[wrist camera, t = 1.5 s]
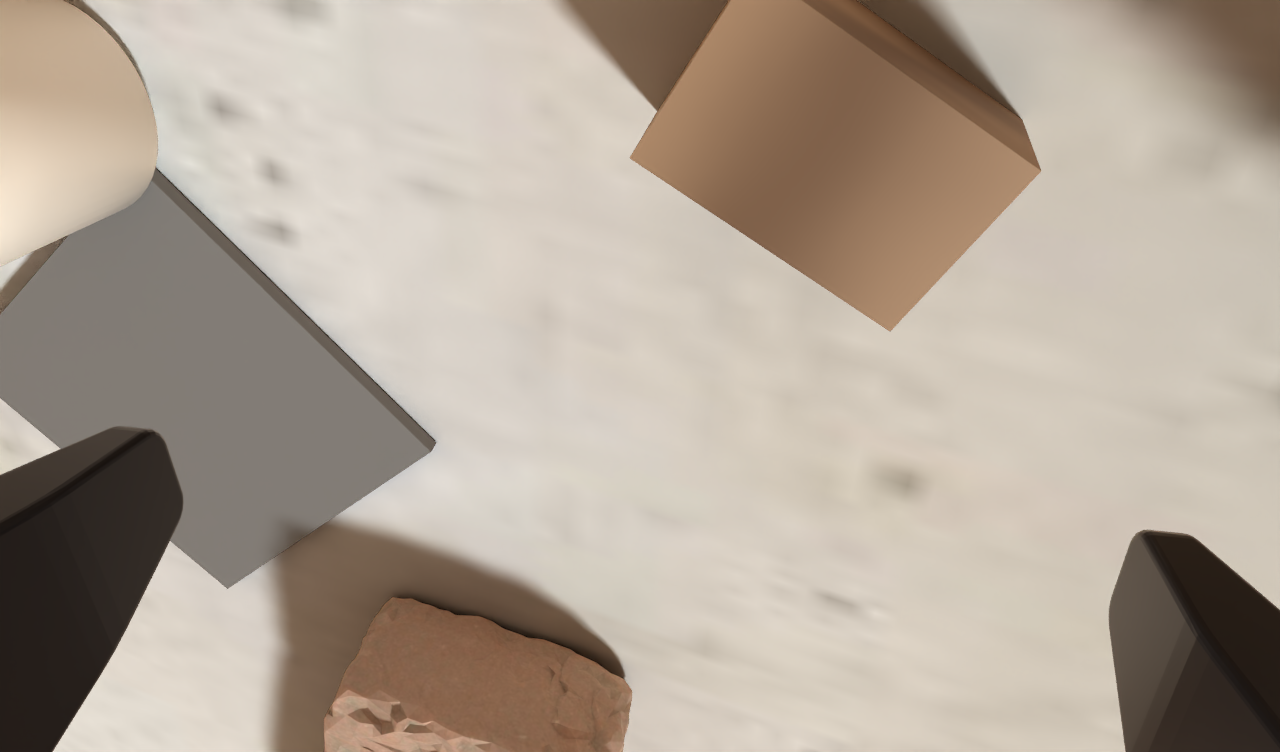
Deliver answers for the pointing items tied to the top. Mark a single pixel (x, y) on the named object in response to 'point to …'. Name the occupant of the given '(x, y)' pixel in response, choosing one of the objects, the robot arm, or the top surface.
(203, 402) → the mat
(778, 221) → the walnut offcut
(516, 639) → the brick
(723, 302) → the top surface
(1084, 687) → the top surface
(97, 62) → the glue bottle
